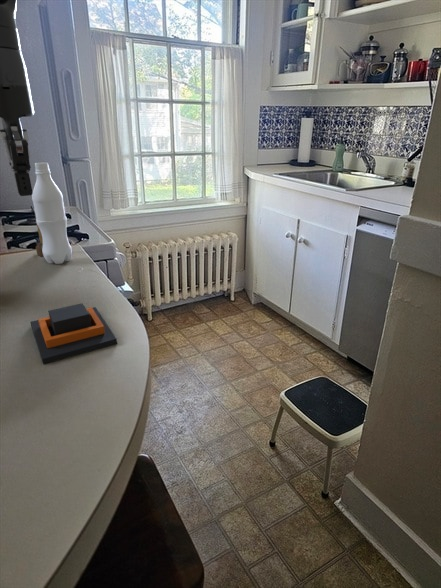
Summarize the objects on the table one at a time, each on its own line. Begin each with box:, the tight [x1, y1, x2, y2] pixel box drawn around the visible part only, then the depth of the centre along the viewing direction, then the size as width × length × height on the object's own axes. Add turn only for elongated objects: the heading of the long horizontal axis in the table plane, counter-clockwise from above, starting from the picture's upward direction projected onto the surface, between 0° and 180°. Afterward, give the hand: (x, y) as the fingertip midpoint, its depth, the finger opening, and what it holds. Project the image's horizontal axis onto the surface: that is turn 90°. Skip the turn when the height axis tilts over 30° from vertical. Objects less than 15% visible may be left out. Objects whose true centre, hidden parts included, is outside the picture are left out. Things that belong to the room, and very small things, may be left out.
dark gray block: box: [48, 302, 92, 336], centre depth 69 cm, size 6×5×4 cm
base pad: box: [30, 306, 118, 365], centre depth 70 cm, size 12×14×2 cm
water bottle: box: [31, 161, 73, 265], centre depth 99 cm, size 7×7×25 cm
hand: (25, 194), depth 69 cm, fingers closed
